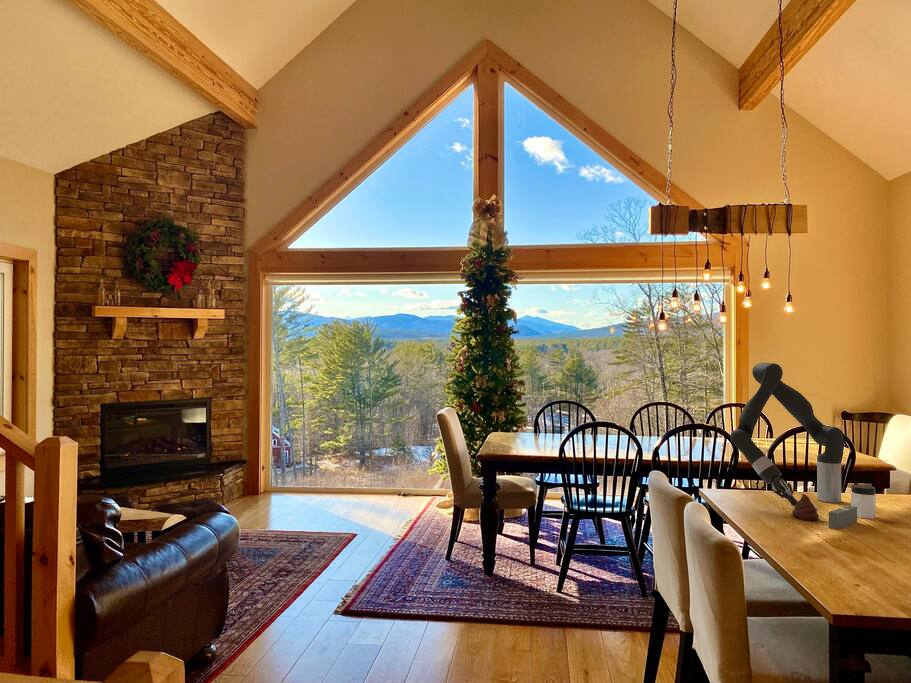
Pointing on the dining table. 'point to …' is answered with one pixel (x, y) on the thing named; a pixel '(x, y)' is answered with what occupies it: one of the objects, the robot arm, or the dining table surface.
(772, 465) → the robot arm
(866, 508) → the jar
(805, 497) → the poop emoji
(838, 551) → the dining table surface
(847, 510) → the rail
